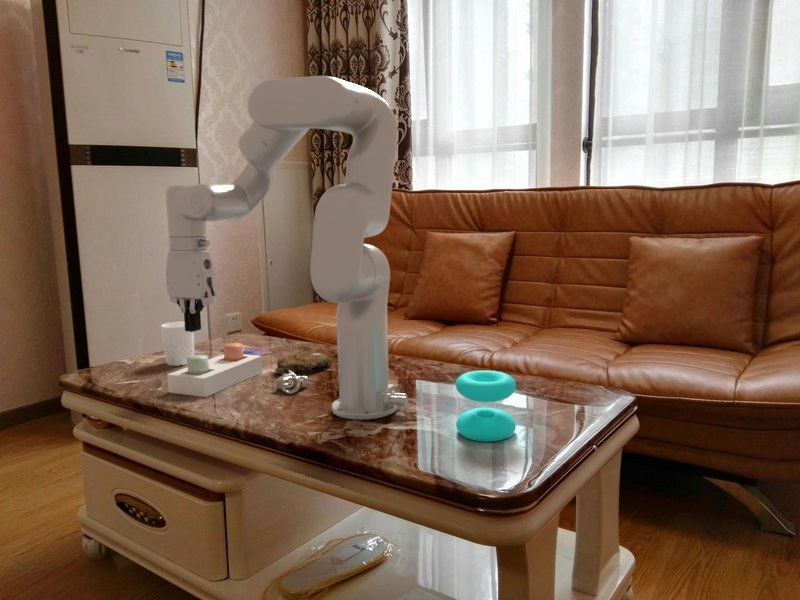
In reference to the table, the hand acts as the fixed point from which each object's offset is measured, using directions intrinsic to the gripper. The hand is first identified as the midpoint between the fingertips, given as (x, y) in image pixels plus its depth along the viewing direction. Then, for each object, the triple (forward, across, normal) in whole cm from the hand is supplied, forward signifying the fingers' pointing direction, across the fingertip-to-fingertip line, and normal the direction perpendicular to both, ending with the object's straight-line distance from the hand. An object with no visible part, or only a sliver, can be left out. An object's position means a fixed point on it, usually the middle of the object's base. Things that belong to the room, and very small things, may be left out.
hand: (193, 330), depth 134 cm
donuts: (+12, -66, +4) cm, 67 cm away
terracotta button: (+10, -1, -12) cm, 16 cm away
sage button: (+10, -1, 0) cm, 10 cm away
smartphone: (+14, +11, -32) cm, 37 cm away
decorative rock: (+13, -13, -22) cm, 29 cm away
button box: (+13, -1, -6) cm, 14 cm away
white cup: (+14, +20, -17) cm, 30 cm away
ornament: (+13, -20, -7) cm, 25 cm away
